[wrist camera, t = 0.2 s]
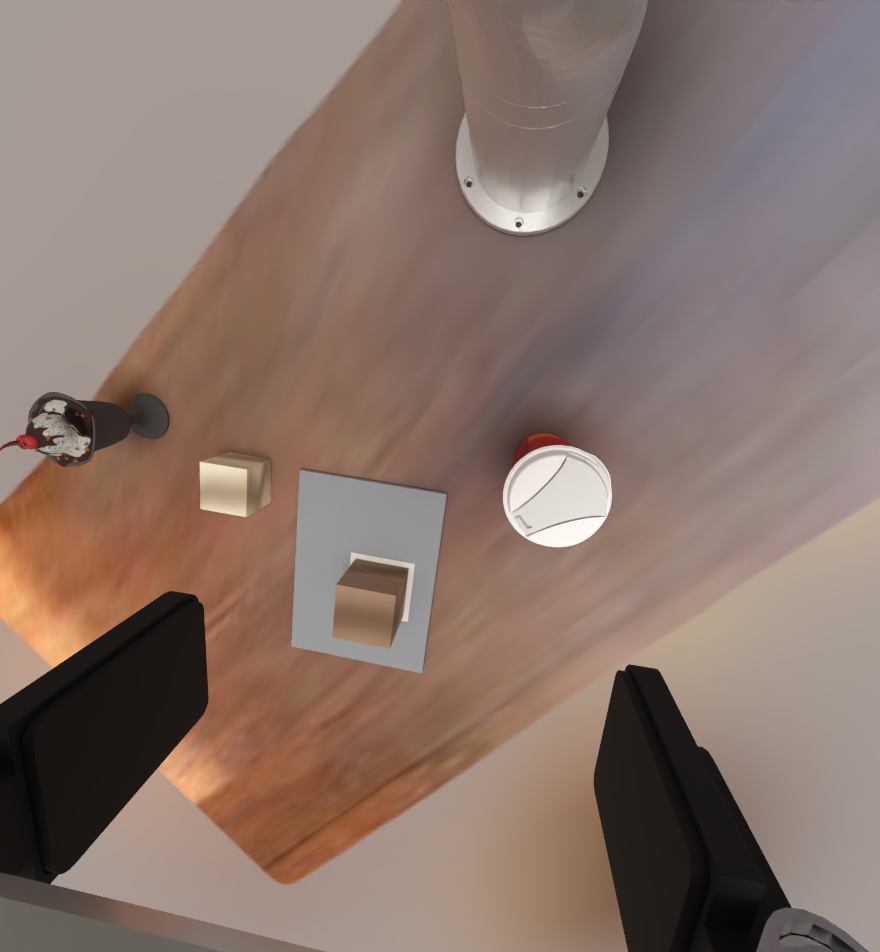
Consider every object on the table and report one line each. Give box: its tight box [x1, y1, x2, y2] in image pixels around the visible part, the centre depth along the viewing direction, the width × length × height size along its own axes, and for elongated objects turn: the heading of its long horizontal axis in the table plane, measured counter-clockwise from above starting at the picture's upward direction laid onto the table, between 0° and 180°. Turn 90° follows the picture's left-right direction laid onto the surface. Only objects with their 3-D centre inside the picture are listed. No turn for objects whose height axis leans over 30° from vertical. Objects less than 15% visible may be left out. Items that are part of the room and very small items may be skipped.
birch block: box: [200, 452, 272, 517], centre depth 47 cm, size 5×5×5 cm
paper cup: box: [503, 433, 612, 547], centre depth 38 cm, size 8×8×14 cm
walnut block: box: [332, 559, 409, 649], centre depth 47 cm, size 6×6×6 cm
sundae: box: [0, 392, 169, 467], centre depth 42 cm, size 7×7×15 cm
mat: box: [291, 469, 447, 673], centre depth 50 cm, size 22×16×1 cm
